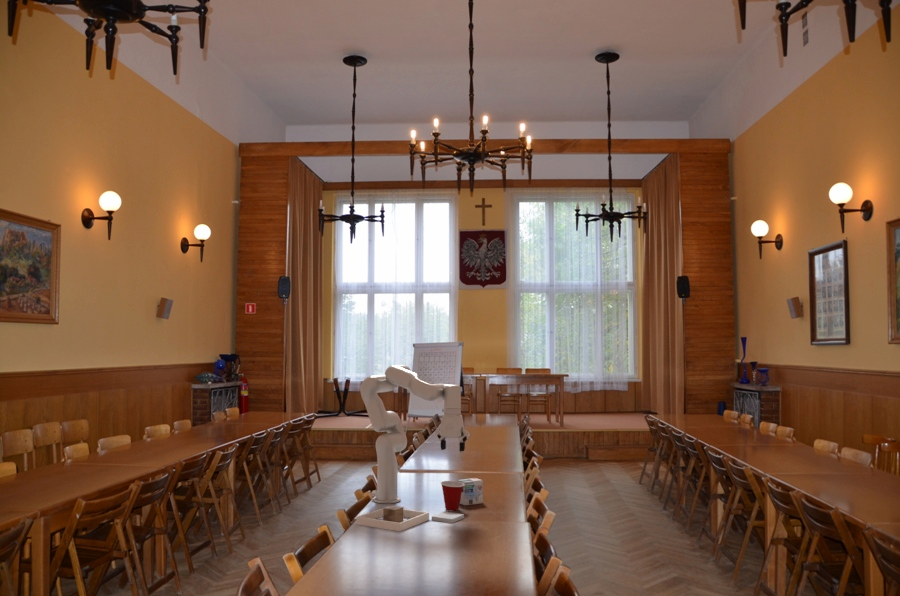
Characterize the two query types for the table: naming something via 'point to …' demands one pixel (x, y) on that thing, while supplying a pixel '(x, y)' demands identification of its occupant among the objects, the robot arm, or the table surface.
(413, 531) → the table surface
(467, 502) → the light bulb box
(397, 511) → the walnut block
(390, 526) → the beige square frame
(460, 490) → the plastic cup
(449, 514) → the display stand
